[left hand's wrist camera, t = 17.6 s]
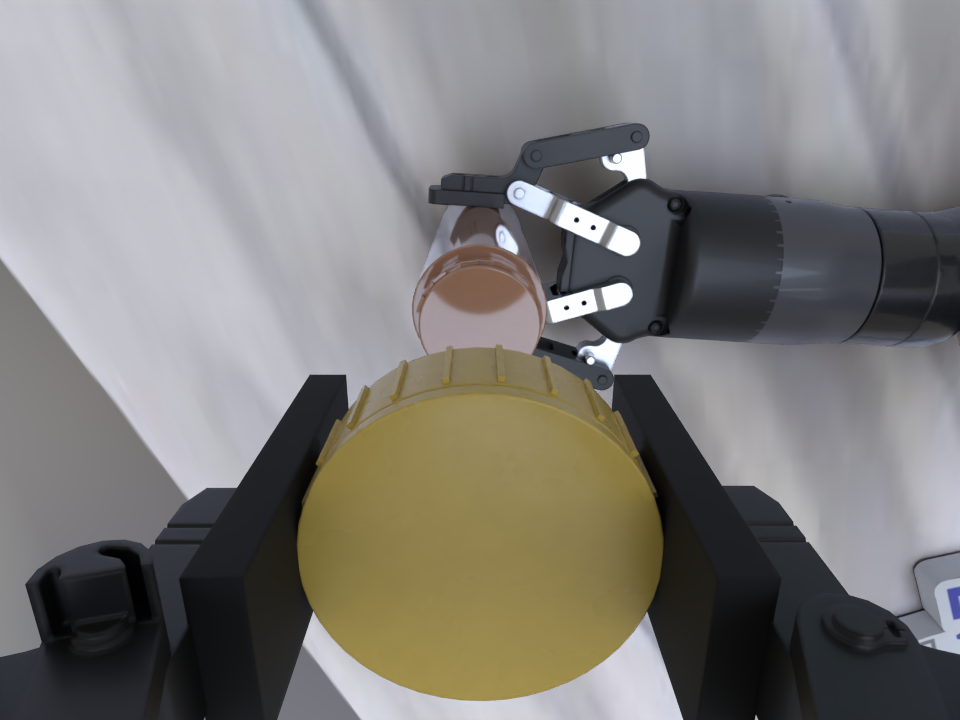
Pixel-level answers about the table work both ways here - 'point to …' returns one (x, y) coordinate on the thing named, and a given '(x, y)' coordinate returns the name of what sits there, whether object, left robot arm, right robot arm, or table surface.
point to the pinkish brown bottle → (479, 284)
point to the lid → (480, 527)
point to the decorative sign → (938, 604)
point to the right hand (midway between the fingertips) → (428, 249)
